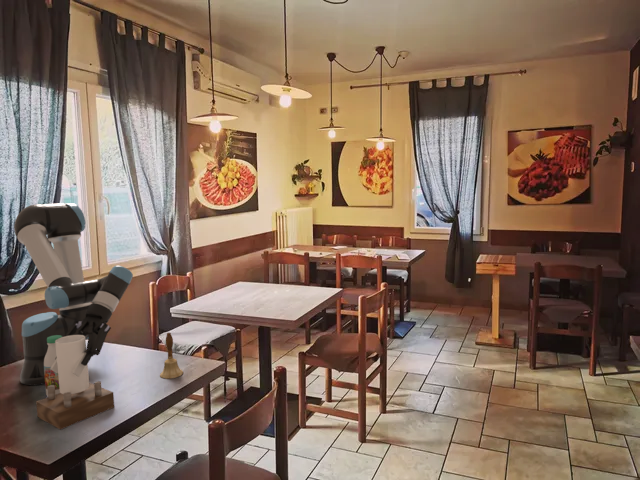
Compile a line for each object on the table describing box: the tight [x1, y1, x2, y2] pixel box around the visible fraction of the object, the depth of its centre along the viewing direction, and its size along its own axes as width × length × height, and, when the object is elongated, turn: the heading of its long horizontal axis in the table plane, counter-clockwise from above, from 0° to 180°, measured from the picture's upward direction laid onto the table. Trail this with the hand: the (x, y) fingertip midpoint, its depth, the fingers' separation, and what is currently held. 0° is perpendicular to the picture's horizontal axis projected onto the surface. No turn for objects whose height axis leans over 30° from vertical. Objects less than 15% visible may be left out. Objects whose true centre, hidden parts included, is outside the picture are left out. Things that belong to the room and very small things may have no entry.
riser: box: [35, 381, 115, 431], centre depth 151 cm, size 14×17×9 cm
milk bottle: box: [44, 335, 62, 397], centre depth 165 cm, size 8×8×20 cm
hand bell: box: [159, 332, 184, 380], centre depth 180 cm, size 8×8×16 cm
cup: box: [55, 335, 90, 394], centre depth 149 cm, size 8×8×16 cm
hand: (64, 372), depth 147 cm, fingers closed on cup, 8 cm apart
